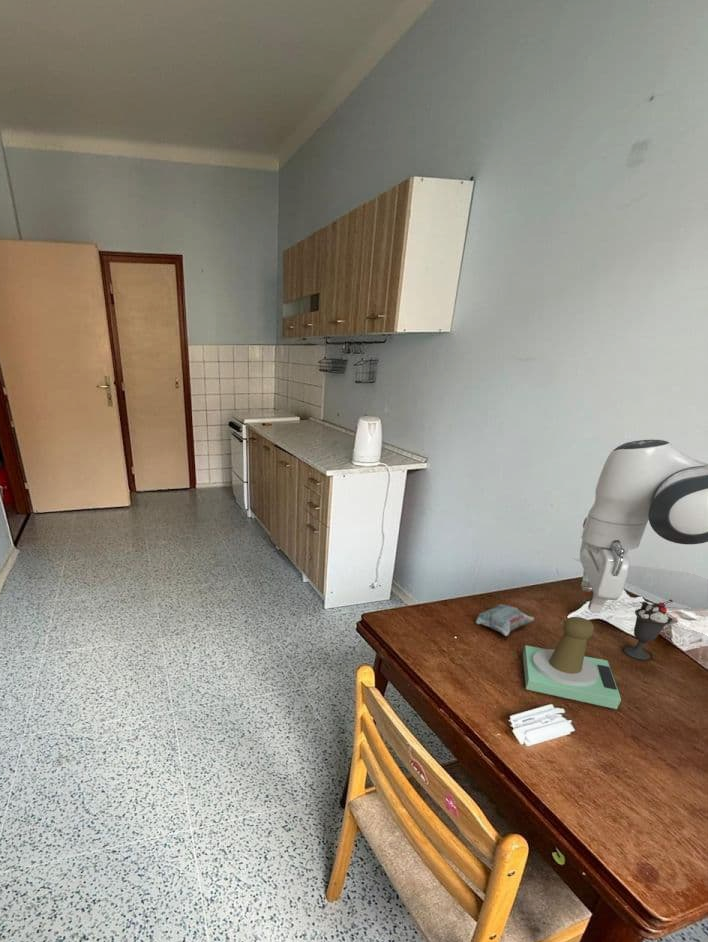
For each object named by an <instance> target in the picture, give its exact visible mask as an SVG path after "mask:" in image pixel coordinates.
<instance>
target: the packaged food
mask: <svg viewBox="0 0 708 942" xmlns="http://www.w3.org/2000/svg"><path fill="white" fill-rule="evenodd" d="M519 609H520V608H519V607H514V606H511V605H507V604H503V603H499V604H498V605H496V606H494V607H492V608H490V609H487V610H485V611H482V612H480V613H479V614H478V615H477V617H476V621H475V623H476V625H483V626H485V627H487V628H489V629H491V630H493V631H495V632H498V633H501V635H503V636H505V637H508V636H509V635H510V633H511V632H512V631H513V630H515V629H518V628H519V627H521V626H524V625H527V624H529V623H530V622H533V621H534V620H535V617H534V616H530V615H527V614H526V613H524V612H523V611H521V610H519Z"/></svg>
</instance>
